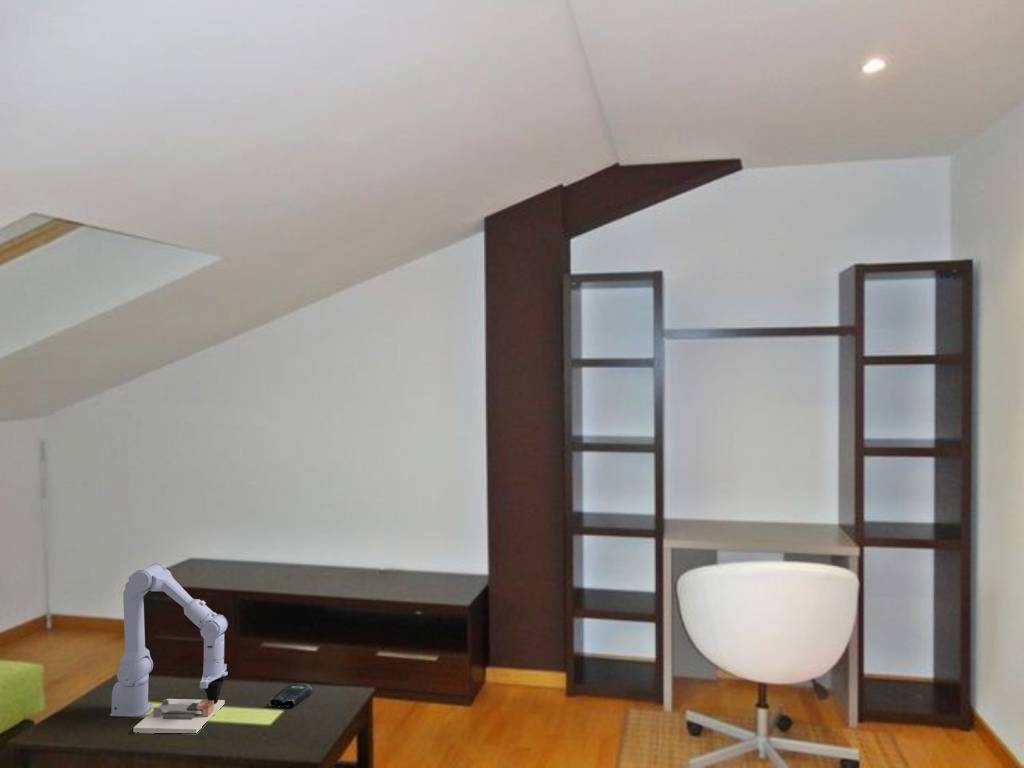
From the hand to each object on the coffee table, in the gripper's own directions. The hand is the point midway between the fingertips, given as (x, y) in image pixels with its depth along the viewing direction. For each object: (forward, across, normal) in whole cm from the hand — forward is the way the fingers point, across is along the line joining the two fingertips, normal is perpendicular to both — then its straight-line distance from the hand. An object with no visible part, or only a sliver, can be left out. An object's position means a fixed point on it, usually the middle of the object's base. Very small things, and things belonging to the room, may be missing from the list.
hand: (213, 703), depth 227 cm
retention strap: (+1, -3, +8) cm, 9 cm away
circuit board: (+3, -3, +8) cm, 9 cm away
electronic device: (+4, +13, -20) cm, 24 cm away
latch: (+2, -3, +1) cm, 4 cm away
